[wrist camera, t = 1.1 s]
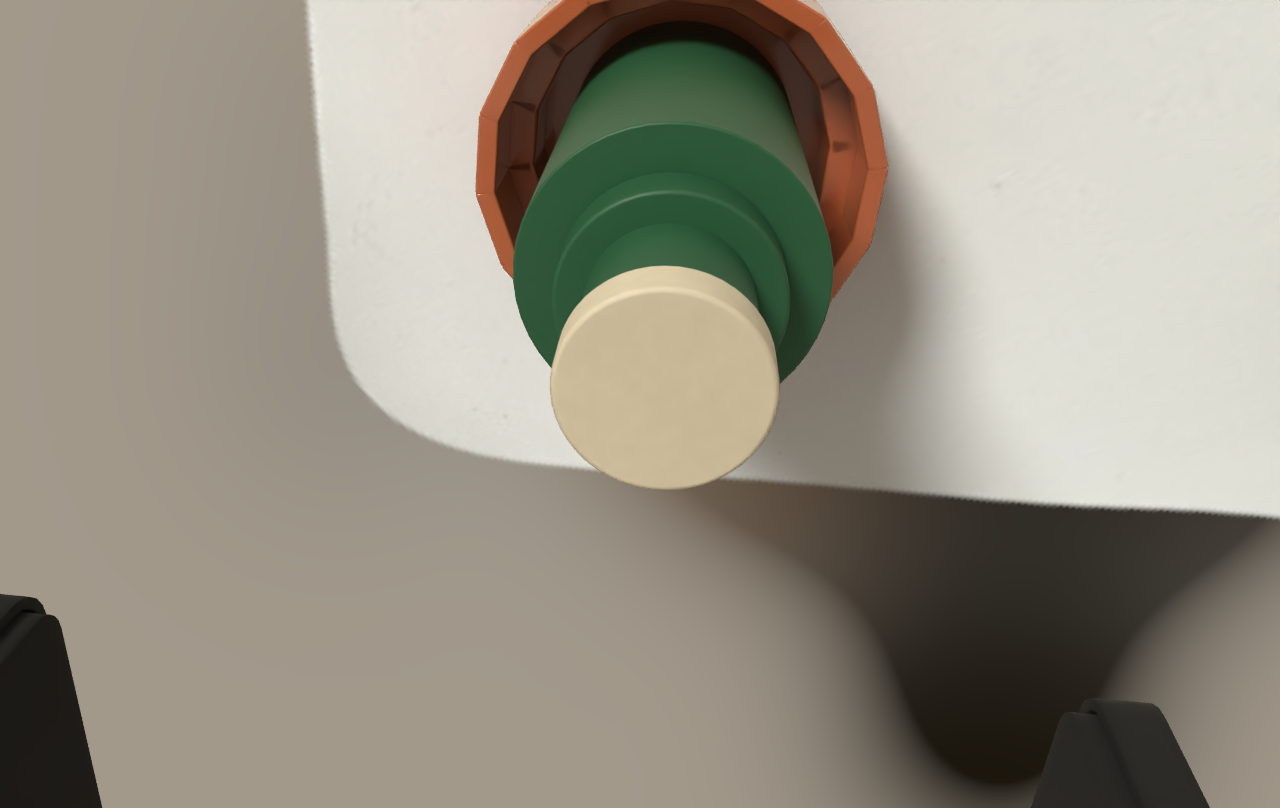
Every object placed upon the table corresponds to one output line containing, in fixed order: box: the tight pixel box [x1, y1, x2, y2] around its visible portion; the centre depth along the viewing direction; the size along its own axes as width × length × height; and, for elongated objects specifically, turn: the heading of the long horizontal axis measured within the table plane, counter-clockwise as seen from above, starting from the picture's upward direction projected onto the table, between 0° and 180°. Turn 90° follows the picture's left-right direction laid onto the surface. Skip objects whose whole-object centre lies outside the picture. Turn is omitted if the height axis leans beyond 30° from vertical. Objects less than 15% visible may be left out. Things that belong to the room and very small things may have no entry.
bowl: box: [475, 0, 888, 302], centre depth 29 cm, size 10×10×5 cm
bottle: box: [513, 21, 833, 490], centre depth 24 cm, size 6×6×16 cm
